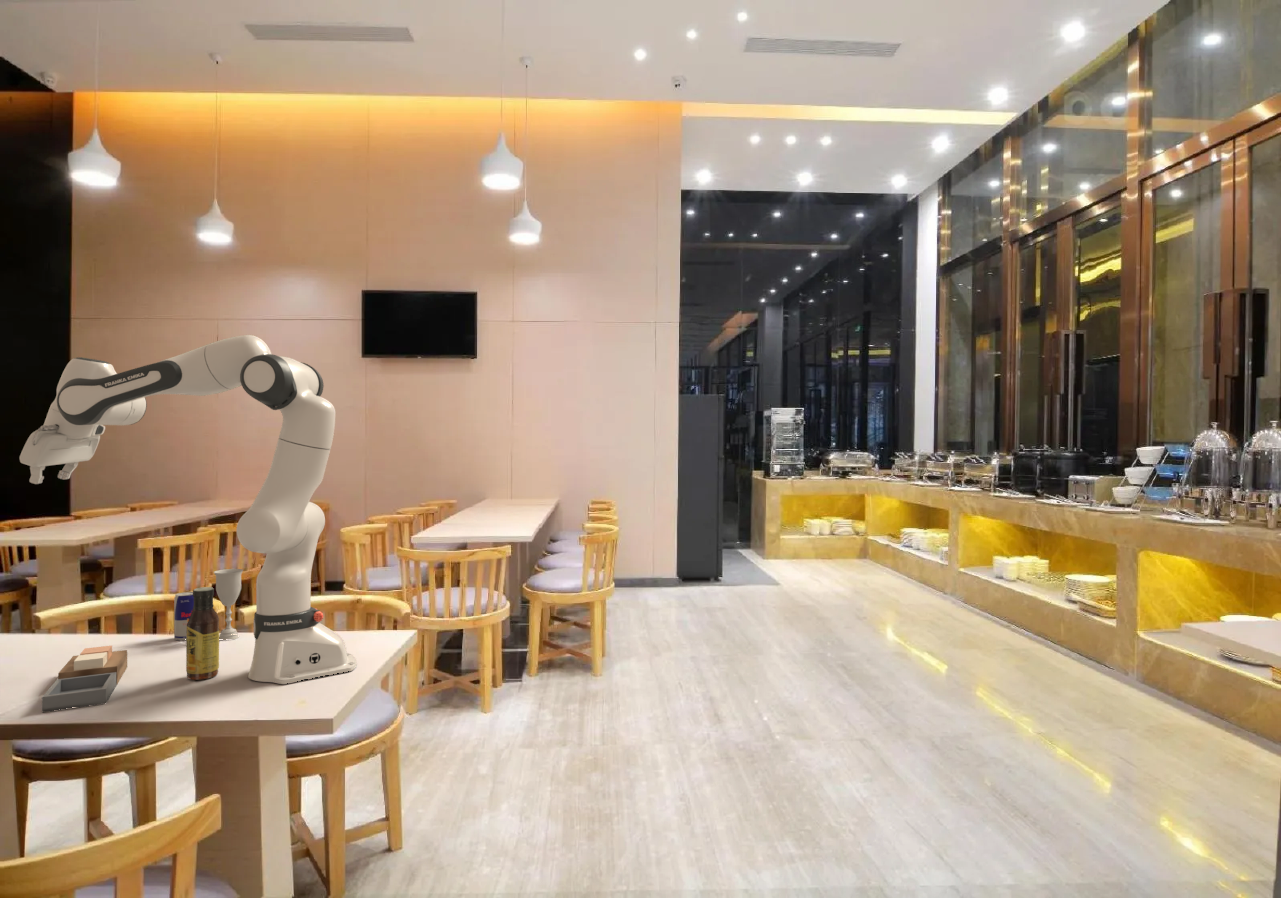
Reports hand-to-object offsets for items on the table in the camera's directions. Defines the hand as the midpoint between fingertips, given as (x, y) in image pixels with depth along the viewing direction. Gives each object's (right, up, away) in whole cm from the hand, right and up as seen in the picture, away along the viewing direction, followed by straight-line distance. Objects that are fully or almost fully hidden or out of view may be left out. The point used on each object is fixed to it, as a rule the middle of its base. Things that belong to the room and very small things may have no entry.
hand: (49, 480), depth 163 cm
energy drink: (+14, -44, +27) cm, 53 cm away
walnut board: (+15, -44, -6) cm, 47 cm away
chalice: (+25, -44, +28) cm, 58 cm away
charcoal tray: (+22, -44, -18) cm, 52 cm away
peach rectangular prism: (+14, -40, -4) cm, 42 cm away
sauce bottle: (+38, -44, -5) cm, 58 cm away
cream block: (+17, -40, -10) cm, 44 cm away
